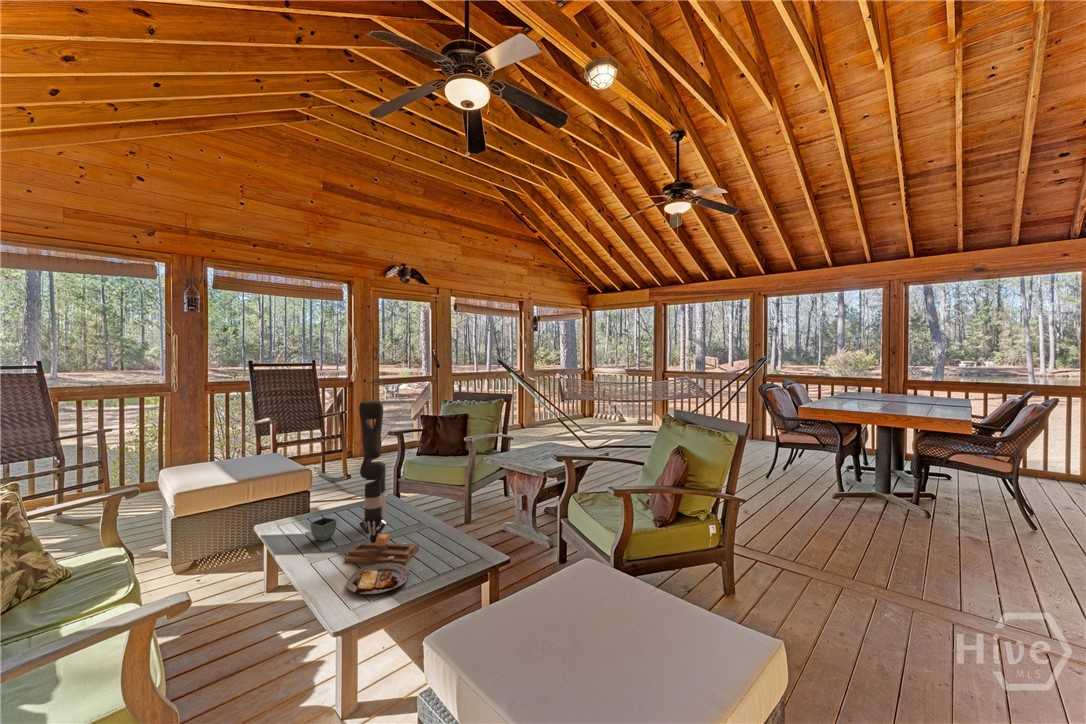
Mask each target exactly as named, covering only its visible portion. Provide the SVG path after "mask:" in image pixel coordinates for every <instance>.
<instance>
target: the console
mask: <svg viewBox="0 0 1086 724" xmlns="http://www.w3.org/2000/svg"><path fill="white" fill-rule="evenodd" d="M419 550H420V546H419V544H411V543H407V542H401V543H390V542H388V543H387V550H386V551H380V550H378V546H376V542H375V543H371V542H366V541H365V542H364V541H359V542H358V543H356V544H355V545H354V546H353V547H352V548H350V549H349V550H348V553H347V555H346V556H345V557H344V563H349V564H350V563H351V564H368V565H375V564H382V563H398V564H401V565H404V566H406V564H408V562H409V561H410V560H411V559H412V558H413V557H414V555H415V554H416V553H417V552H418V551H419Z"/></svg>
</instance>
